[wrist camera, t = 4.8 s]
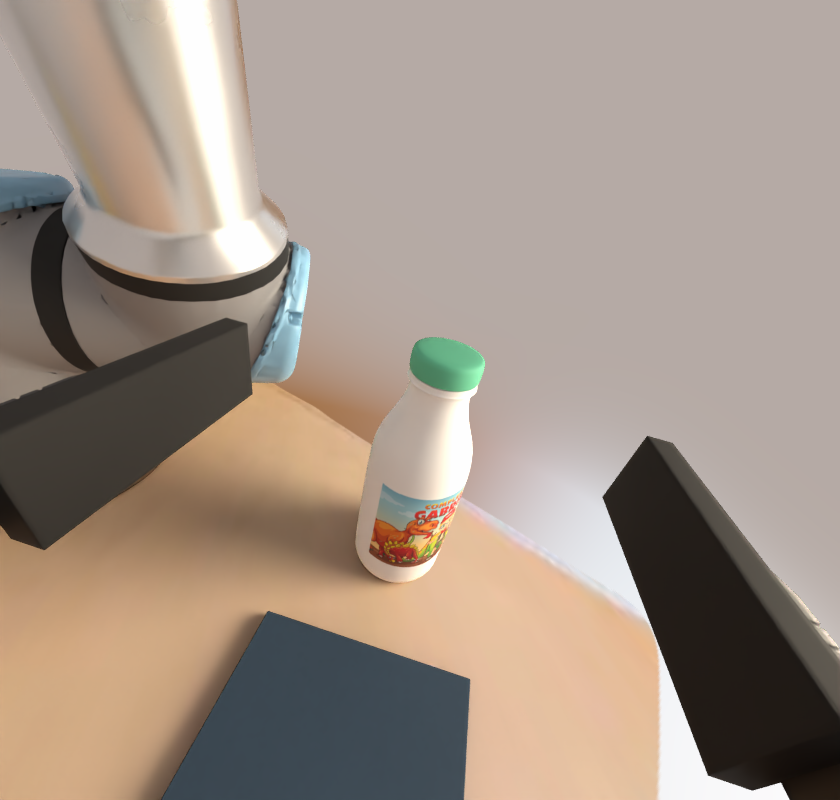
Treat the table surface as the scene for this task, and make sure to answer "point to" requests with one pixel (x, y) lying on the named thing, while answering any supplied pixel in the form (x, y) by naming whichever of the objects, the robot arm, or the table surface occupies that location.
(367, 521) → the milk bottle
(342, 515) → the table surface
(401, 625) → the table surface
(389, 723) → the placemat
